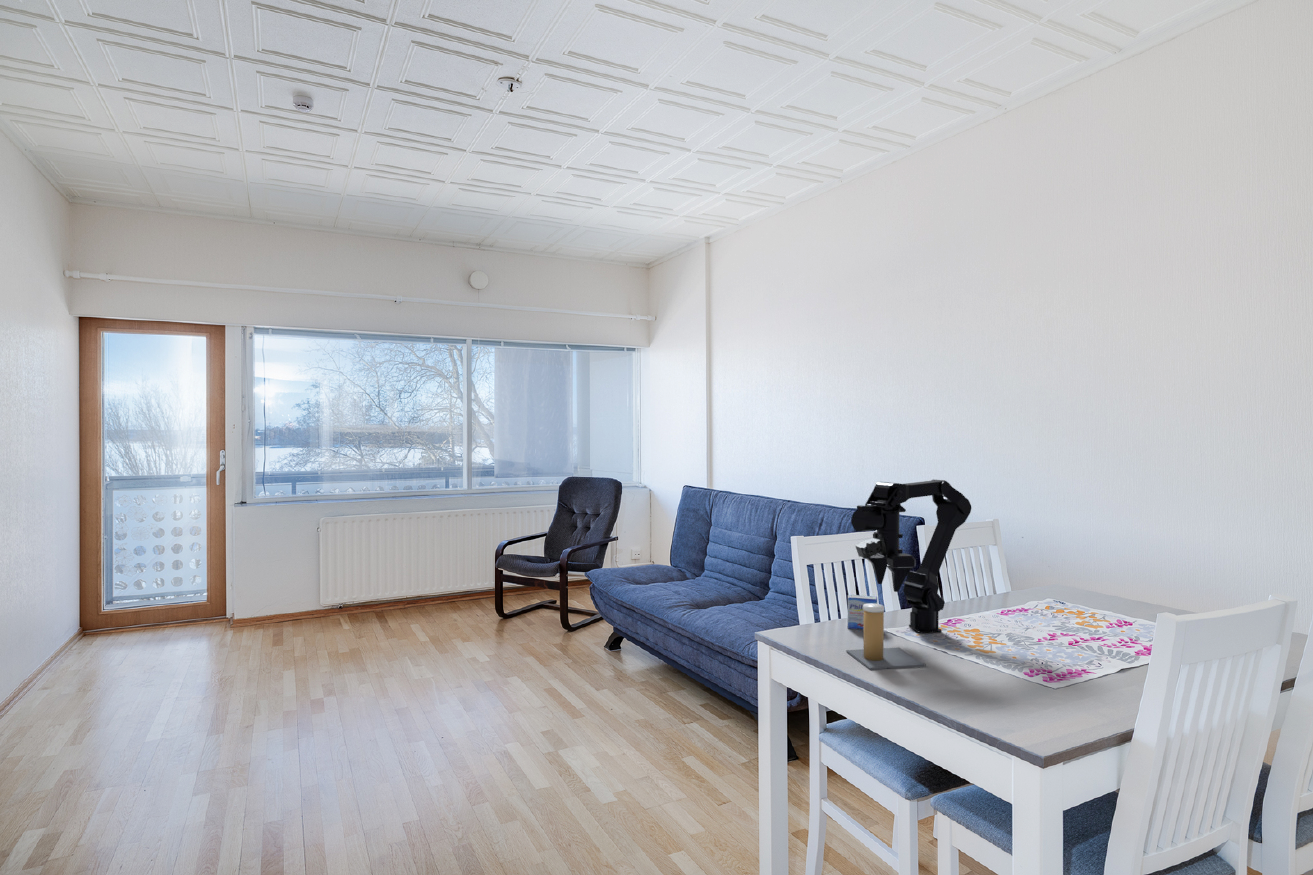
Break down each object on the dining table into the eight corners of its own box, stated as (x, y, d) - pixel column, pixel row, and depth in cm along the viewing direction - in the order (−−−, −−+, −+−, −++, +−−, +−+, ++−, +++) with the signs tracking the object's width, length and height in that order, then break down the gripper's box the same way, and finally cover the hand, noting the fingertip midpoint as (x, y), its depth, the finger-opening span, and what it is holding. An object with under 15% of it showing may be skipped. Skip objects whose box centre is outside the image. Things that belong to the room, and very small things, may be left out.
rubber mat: (899, 649, 182) (899, 647, 182) (926, 666, 169) (926, 664, 169) (846, 652, 179) (846, 650, 179) (869, 669, 167) (869, 667, 167)
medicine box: (847, 628, 200) (847, 597, 200) (847, 624, 205) (848, 593, 204) (877, 630, 198) (877, 599, 198) (877, 626, 202) (877, 595, 202)
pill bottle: (873, 653, 177) (873, 602, 177) (888, 658, 173) (888, 606, 173) (858, 656, 175) (858, 604, 174) (873, 662, 170) (873, 609, 170)
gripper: (844, 525, 200) (844, 581, 201) (875, 535, 182) (875, 597, 182) (882, 524, 202) (882, 579, 202) (916, 534, 184) (916, 595, 184)
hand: (887, 587), depth 193 cm, fingers open, 9 cm apart
